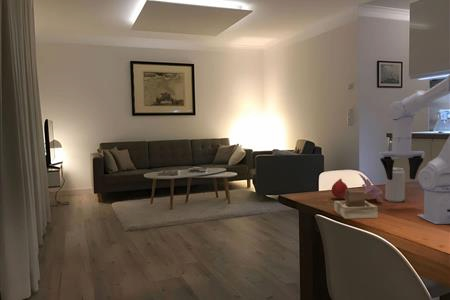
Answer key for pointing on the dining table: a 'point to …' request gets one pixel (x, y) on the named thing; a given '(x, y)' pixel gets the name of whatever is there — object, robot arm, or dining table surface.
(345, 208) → the beech base
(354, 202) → the walnut block
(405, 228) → the dining table surface
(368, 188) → the lily
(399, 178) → the beverage can
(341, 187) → the onion
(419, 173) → the robot arm
